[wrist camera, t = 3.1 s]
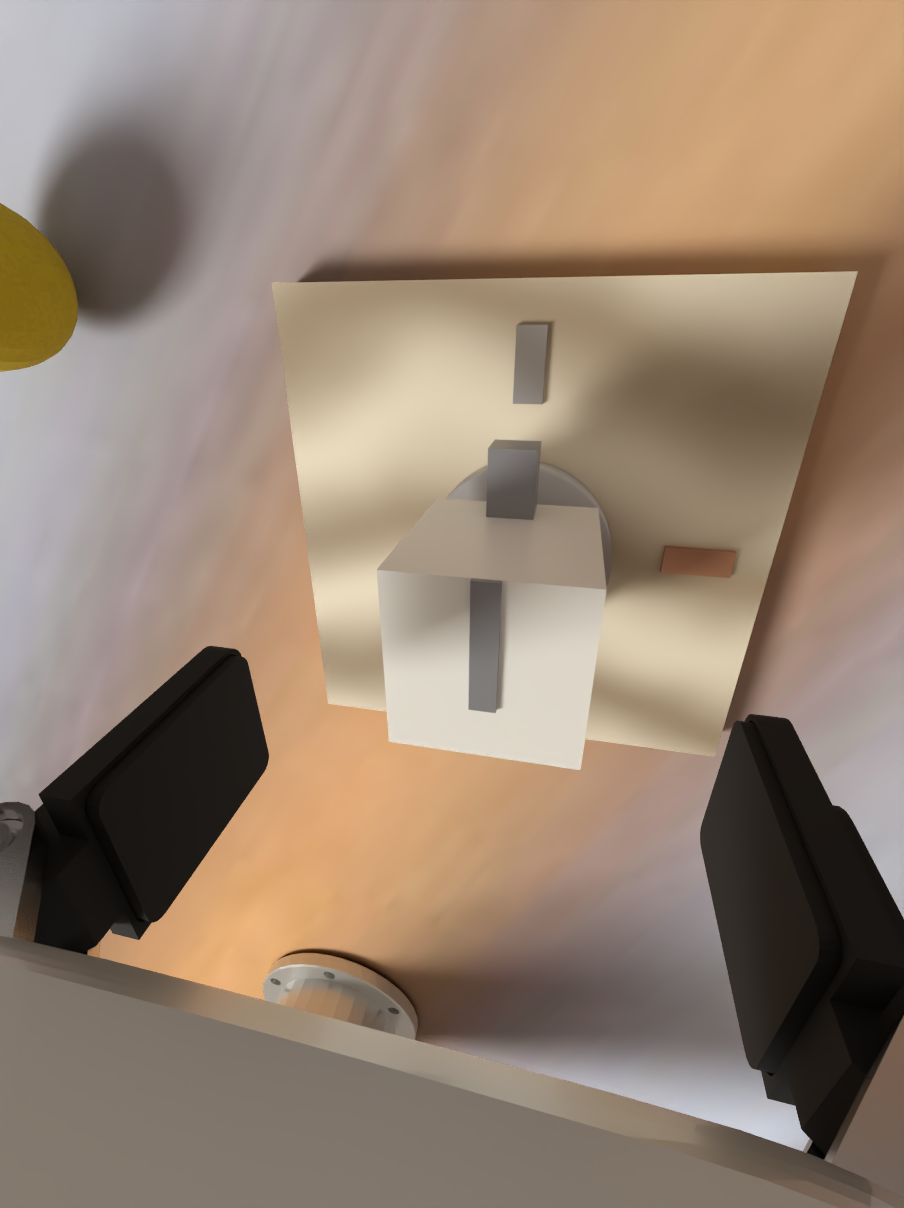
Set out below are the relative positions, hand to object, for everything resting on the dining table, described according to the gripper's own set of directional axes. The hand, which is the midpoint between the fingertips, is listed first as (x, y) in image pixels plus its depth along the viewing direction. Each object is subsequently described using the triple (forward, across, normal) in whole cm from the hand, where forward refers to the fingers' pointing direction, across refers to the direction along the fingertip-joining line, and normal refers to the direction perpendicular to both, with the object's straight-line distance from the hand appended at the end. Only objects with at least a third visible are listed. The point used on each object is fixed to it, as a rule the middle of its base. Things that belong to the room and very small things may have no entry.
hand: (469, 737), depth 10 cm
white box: (+9, 0, 0) cm, 9 cm away
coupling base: (+13, 0, +1) cm, 13 cm away
